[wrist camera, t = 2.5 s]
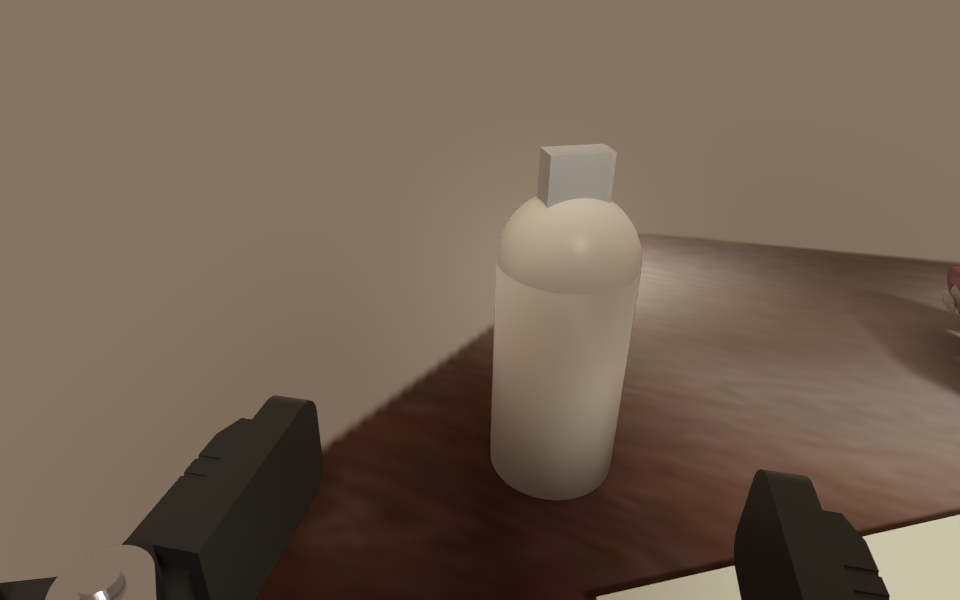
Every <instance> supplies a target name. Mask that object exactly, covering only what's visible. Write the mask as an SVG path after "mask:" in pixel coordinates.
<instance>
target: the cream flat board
mask: <svg viewBox="0 0 960 600" xmlns="http://www.w3.org/2000/svg"><path fill="white" fill-rule="evenodd" d="M863 538H864V540H865V541H866V543H867V545H868V547H869V549H870V552H871V554H872V556H873V559H874V561H875V563H876V565H877V568H878V570H879V573H878V574H879V577H882V579H883V581H884V584H885V586H886V588H887V591H888V593H889V595H890V597H889V600H960V515H956V516H951V517H947V518H943V519H938V520H934V521H929V522H925V523H920V524H916V525H912V526H907V527H903V528H898V529H894V530H890V531H885V532H881V533H876V534H872V535H867V536H863ZM596 600H741V596H740V591H739V586H738V581H737V576H736V570H735V566H730V567H726V568H721V569H717V570H713V571H708V572H704V573H699V574H695V575H691V576H686V577H682V578H677V579H673V580H668V581H664V582H660V583H655V584H651V585H646V586H642V587H637V588H633V589H629V590H624V591H620V592H615V593H611V594H607V595H602V596H598V597H596Z"/></svg>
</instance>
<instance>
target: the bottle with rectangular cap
mask: <svg viewBox="0 0 960 600" xmlns="http://www.w3.org/2000/svg"><path fill="white" fill-rule="evenodd" d="M616 154H617V152H616V151H614V150H613V149H611V148H610V147H608V146H606V145H605V144H591V145H572V146H552V147H541V148H540V162H539V177H538V193H537V196H535V197H533V198H531V199H530V200H528V201H527V202H525V203H524V204H523V205H522V206H521V207H520V208H518V209H517V210H516V212H515V213H514V214H513V215H512V216H511V218H510V219H509V220H508V222H507V224H506V226H505V227H504V229H503V232H502V234H501V236H500V239H499V243H498V249H497V257H496V285H495V315H494V347H493V379H492V410H491V442H490V457H491V462H492V465H493V467H494V469H495V471H496V472H497V474H498V475H499V476H500V477H501V479H502V480H503V481H504V482H506V483H507V484H508V485H509V486H511V487H512V488H514V489H515V490H517V491H519V492H521V493H524V494H526V495H529V496H532V497H535V498H540V499H545V500H568V499H574V498H578V497H581V496H584V495H586V494H588V493H590V492H592V491H594V490H595V489H596V488H598V487H599V486H600V485H601V484H602V483H603V482H604V480H605V479H606V477H607V475H608V473H609V469H610V464H611V458H612V451H613V445H614V439H615V432H616V426H617V420H618V413H619V407H620V401H621V394H622V388H623V382H624V375H625V369H626V363H627V356H628V350H629V344H630V337H631V331H632V325H633V318H634V312H635V306H636V299H637V293H638V287H639V280H640V274H641V266H642V253H641V245H640V241H639V238H638V235H637V232H636V230H635V227H634V226H633V224H632V222H631V221H630V219H629V218H628V217H627V215H626V214H625V213H624V211H623V210H622V209H621V208H620V207H618V206H617V205H616V204H615V203H614V202H612V201H611V195H612V187H613V179H614V171H615V163H616Z"/></svg>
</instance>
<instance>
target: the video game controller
mask: <svg viewBox="0 0 960 600" xmlns="http://www.w3.org/2000/svg"><path fill="white" fill-rule="evenodd" d="M947 281H948V287H949V291H950V293H949V292H948V291H947V290H944V291H943V294H942V302H943V304H944V306H945V307H947V309H949V310H950V311H951V312H955V310H956V308H957V310H958V312H959V314H960V265H959V266H955V267H951V268H949V270H948V272H947ZM955 307H956V308H955Z"/></svg>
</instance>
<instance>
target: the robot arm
mask: <svg viewBox="0 0 960 600" xmlns="http://www.w3.org/2000/svg"><path fill="white" fill-rule="evenodd" d="M322 469H323V459H322V451H321V443H320V434H319V426H318V417H317V410H316V406H315V404H314V402H313V401H309V400H303V399H296V398H289V397H283V396H272V397H270V398H269V399H268V400H267V401H266V403H265V404H264V405H263V407H262V408H261V409H260V410H259V412H258V413H257V414H256V415H255V416H254V418H253V419H252V420H251V419H245V418H241V419H239V420H238V421H236V422H235V423H233V424H232V425H230V426H228V427H227V428H225V429H224V430H222V431H221V432H219V433H217V434H216V435H215V436H214V438H213V439H212V440H211V441H210V442H209V443H208V445H207V446H206V447H205V448H204V449H203V451H202V452H201V453H200V454H199V458H198V459H195V460H194V461H193V462H192V463H191V465H190V466H189V467H188V468H187V469H186V470H185V472H184V476H180V478H179V479H178V480H177V481H176V482H175V483H174V485H173V486H172V487H171V488H170V489H169V490H168V492H167V493H166V494H165V495H164V496H163V497H162V499H161V500H160V501H159V502H158V503H157V505H156V506H155V507H154V508H153V509H152V511H151V512H150V513H149V514H148V515H147V516H146V518H145V519H144V520H143V521H142V522H141V523H140V525H139V526H138V527H137V528H136V530H135V531H134V532H133V533H132V534H131V535H130V536H129V537H128V539H127V540H126V541H125V542H124V543H123V544H122V545H116V546H110V547H106V548H102V549H99V550H96V551H94V552H92V553H90V554H88V555H86V556H84V557H82V558H80V559H79V560H77V561H76V562H74V563H73V564H71V565H70V566H69V567H67V568H66V569H65V570H64V571H63V572H62V573H61V574H60V575H59V576H58V577H52V578H44V579H34V580H24V581H15V582H7V583H0V600H256V599H257V597H258V595H259V593H260V592H261V590H262V588H263V586H264V584H265V583H266V581H267V579H268V577H269V576H270V574H271V572H272V570H273V569H274V567H275V565H276V563H277V562H278V560H279V558H280V556H281V554H282V553H283V551H284V549H285V547H286V546H287V544H288V542H289V540H290V539H291V537H292V535H293V533H294V531H295V530H296V528H297V526H298V524H299V523H300V521H301V519H302V517H303V516H304V514H305V512H306V510H307V509H308V507H309V505H310V503H311V501H312V500H313V498H314V496H315V494H316V492H317V490H318V487H319V484H320V480H321V476H322ZM734 563H735V570H736V576H737V581H738V586H739V591H740V596H741V600H889V597H890V595H889V593H888V591H887V588H886V586H885V584H884V581H883V579H882V577H879V574H878V573H879V570H878V568H877V565H876V563H875V561H874V559H873V556H872V554H871V552H870V549H869V547H868V545H867V543H866V541H865V540H864V538H863V537H862V536H861V535H860V534H859V533H858V532H857V531H856V529H855V528H854V527H853V526H852V525H851V524H850V523H849V522H848V521H847V519H846V518H845V517H844V516H843V515H842V514H841V513H836V512H829V511H823V510H822V508H821V505H820V503H819V500H818V497H817V495H816V492H815V489H814V487H813V484H812V482H811V480H810V479H809V478H808V477H807V476H803V475H796V474H789V473H782V472H776V471H769V470H762V469H760V470H758V471H757V472H756V474H755V476H754V479H753V482H752V485H751V488H750V491H749V494H748V497H747V500H746V503H745V506H744V510H743V513H742V516H741V519H740V522H739V525H738V528H737V531H736V536H735V544H734Z"/></svg>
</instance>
